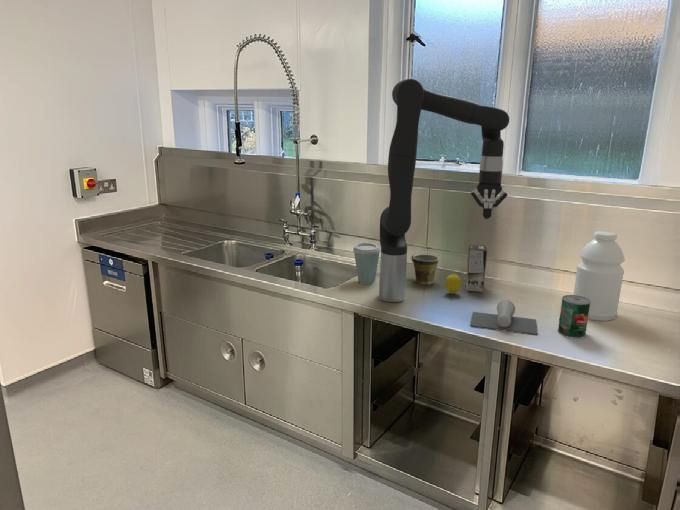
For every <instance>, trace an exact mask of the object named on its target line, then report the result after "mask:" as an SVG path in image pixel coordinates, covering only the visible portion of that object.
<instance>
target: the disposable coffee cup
mask: <svg viewBox="0 0 680 510" xmlns="http://www.w3.org/2000/svg"><path fill="white" fill-rule="evenodd" d="M352 250H353V251H352V252H353V253H354V259H355V260H354V261H355V267H356V268H355V269H356V272H357V273H356V274H357V279H358V282H360V283H359V284H361V283H362V285H371V284H374V283H375V281H376V276H377V271H378V270H377V269H378V266H379V258H380V257H379V256H380V253H381V247H379V245H378V244H376V243H373V242H369V241H367V242H366V241H365V242H358V243H356V244H355V245H354V247H353V249H352Z"/></svg>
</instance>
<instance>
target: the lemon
mask: <svg viewBox="0 0 680 510" xmlns="http://www.w3.org/2000/svg"><path fill="white" fill-rule="evenodd" d="M461 287H462V282H461V278H460V276H459V275H457V274H456V273H452V274H450V275H447V278H446V279H445V289H446V291H448V292H449V293H450V294H451V295H454V294H455V293H457V292H458V291H460V289H461Z"/></svg>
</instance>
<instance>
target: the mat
mask: <svg viewBox="0 0 680 510" xmlns="http://www.w3.org/2000/svg"><path fill="white" fill-rule="evenodd" d="M498 316H499V315H498V314H496V313H494V314H493V313H487V312H478V311H472V314H471V318H470V323H469V326H471V327H472V328H478V327H481V328H480V329H485V328H489V329H488V330H493V329H498V330H497V331H501V330H506V331H505V332H509V331H514V332H513V333H517V332H521V333H520V334H524V333H528V334H527V335H532V334H536V335H535V336H538V326H537V319H536V318H530V317H529V318H528V317H520V316H512V317H511V324H510V326H508V327H506V328H503V327H500V326H499V325H498V323H497V318H498Z"/></svg>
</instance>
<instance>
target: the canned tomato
mask: <svg viewBox="0 0 680 510" xmlns="http://www.w3.org/2000/svg"><path fill="white" fill-rule="evenodd" d="M589 308H590V300H589V299H587V298H585V297H582V296H577V295H574V294H567V295H566V294H565V295H563V296H562V297H561V307H560V312H559V321H558V328H557V331H558V334H560V335H561V334H562V336H563V335H564V336H563V337H566V336H568V337H567V338H570V337H573V338H572V339H582V337H583V338H584V337H586V334H587V333H586V332H587V328H588V320H589V319H588V314H589Z"/></svg>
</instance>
